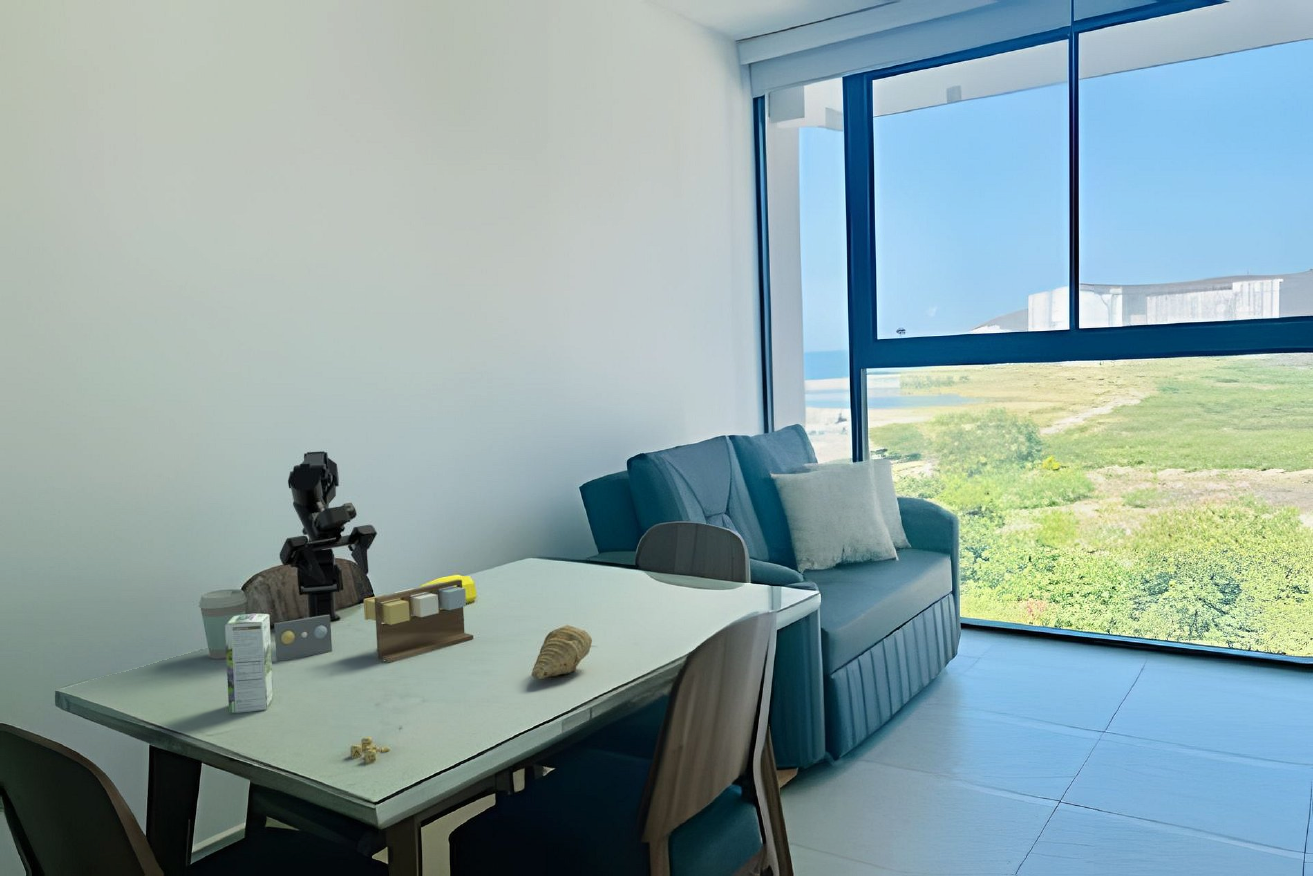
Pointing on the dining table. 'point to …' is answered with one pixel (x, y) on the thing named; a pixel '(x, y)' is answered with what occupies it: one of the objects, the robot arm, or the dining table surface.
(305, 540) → the robot arm
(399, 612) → the left button
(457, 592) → the right button
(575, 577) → the dining table surface
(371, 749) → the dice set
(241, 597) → the coffee cup
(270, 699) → the syrup box
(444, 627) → the button board
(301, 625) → the card
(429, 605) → the middle button
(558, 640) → the seashell
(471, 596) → the yellow curved piece
